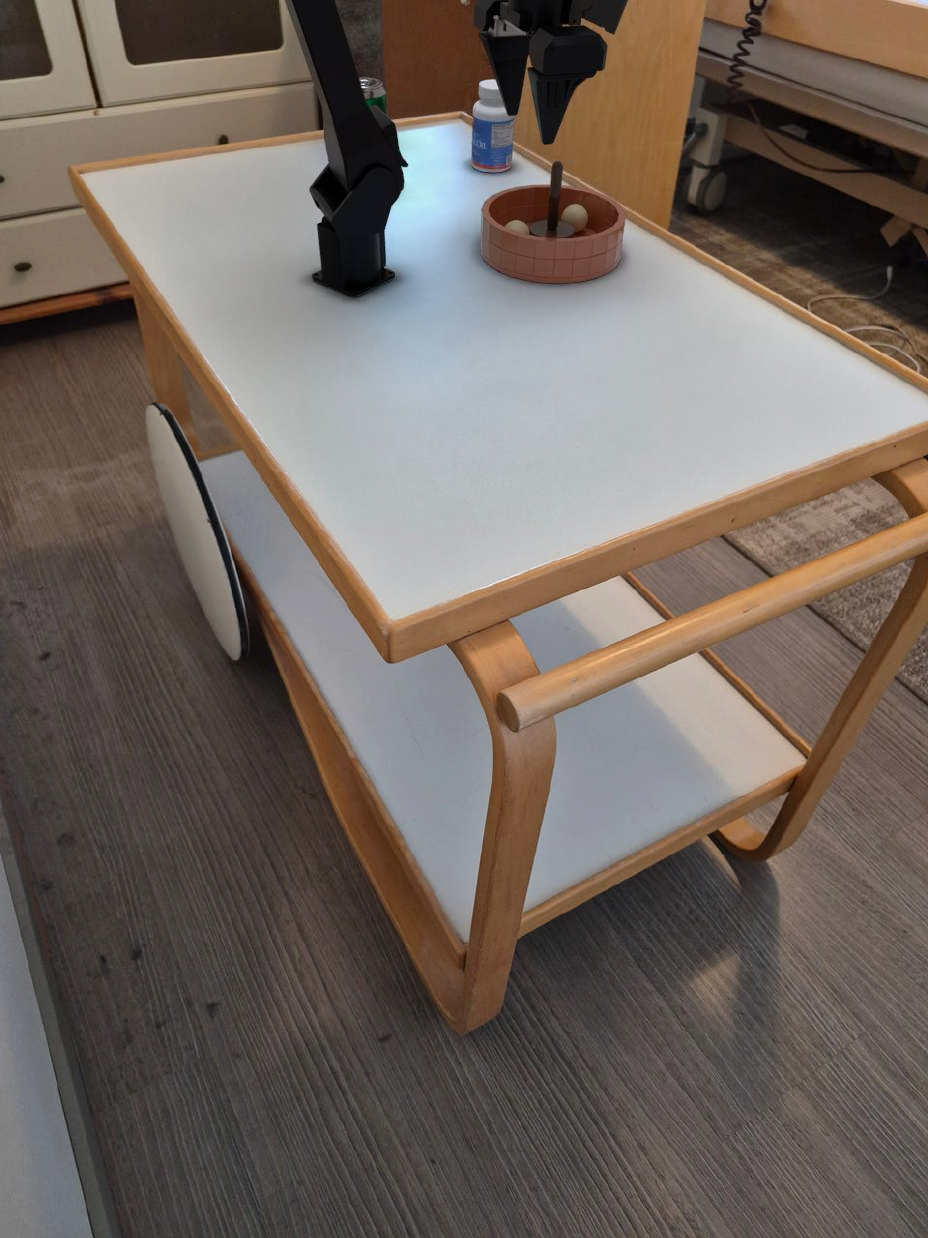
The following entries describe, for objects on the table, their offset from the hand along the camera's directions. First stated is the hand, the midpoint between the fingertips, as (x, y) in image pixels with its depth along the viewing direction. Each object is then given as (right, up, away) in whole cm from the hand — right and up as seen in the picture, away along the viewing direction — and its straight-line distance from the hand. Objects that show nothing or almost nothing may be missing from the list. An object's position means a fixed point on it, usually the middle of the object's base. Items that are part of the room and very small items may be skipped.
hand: (529, 128), depth 92 cm
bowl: (+3, -9, +9) cm, 13 cm away
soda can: (-18, +4, +21) cm, 28 cm away
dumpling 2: (+6, -4, +11) cm, 13 cm away
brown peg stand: (+3, -8, +9) cm, 13 cm away
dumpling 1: (-1, -8, +7) cm, 11 cm away
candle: (-21, +15, +33) cm, 42 cm away
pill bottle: (-3, +10, +28) cm, 30 cm away
